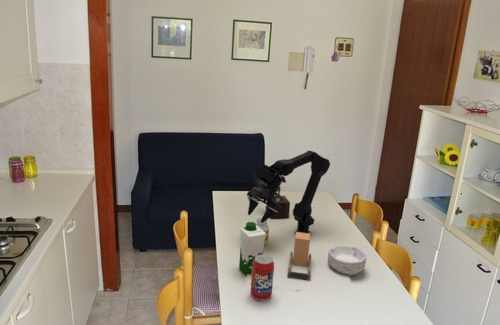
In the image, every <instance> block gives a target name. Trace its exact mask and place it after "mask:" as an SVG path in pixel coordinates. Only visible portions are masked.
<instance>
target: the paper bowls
mask: <svg viewBox="0 0 500 325" xmlns="http://www.w3.org/2000/svg"><path fill="white" fill-rule="evenodd" d="M366 255H367V254H366V253H365V252H364V251H363V250H361V249H359V247H356V246H352V245H348V244H347V245H345V244H338V245H334V246H332V247H330V248H329V250H328V255H327V263H328V265H329V266H330V267H331V268H333V270H335V271H336V272H339V273H341V274H345V275H349V277H352V276H354V275H357V274H358V273H359V272H360V273H361V272H362V271H363V270H365V267H366V264H367V263H366V261H367V256H366Z"/></svg>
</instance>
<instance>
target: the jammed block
mask: <svg viewBox="0 0 500 325" xmlns="http://www.w3.org/2000/svg"><path fill="white" fill-rule="evenodd" d="M295 232H296V231H295ZM294 235H295V236H294V245H293V247H294V248H293V257H292V265H293V266H294V265H295V266H301V267H308V257H309V254H310V253H309V252H310V242H311V233H310V234H308V233H300V232H296V234H294Z"/></svg>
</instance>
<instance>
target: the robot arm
mask: <svg viewBox="0 0 500 325" xmlns="http://www.w3.org/2000/svg"><path fill="white" fill-rule="evenodd" d="M309 163H311V164H310V170H311V174H310V176H309V179H308V182H307V185H306V188H305V190H304V192H303V195H302V198H301V200H300V201H299V202H298V203H297V202H296V203H294V208H293V209H292V215H293V219H294V220H295V221H297V225H296V226H297V227H296V231H295V232H294V235H296V232H300V233H308V234H310V235H311V232H312V231H311V230H310V226H312V225H314V222H315V218H314V217H313V216H312V212H313V211H312V203H313V200H314V197H315V194H316V192H317V190H318V188H319V184H320V182H321V178H322V177H324V176H325V175H326V174H327V172H328V170H329V168H330V167H331V163H330V159H328V158H325V157H322V156H321V155H320V154H318V153H317V152H315V151H312V150H306V152H304V153H301V154H298V155H297V156H294V157H292V158H289V159H288V158H287V159H278V160H276V161H275V162H274V163H273V164H272V165H270V166H269V165H267V164H263V165H262V166H260V167H259V168H257V169H256V171H255V177H256V179H257V180H259V181H260V182H264V183H266V185H265V186H264V185H263V186H262V188H261V187H255V186H254V187H252V188H251V190H248V192H247V193H246V196H247V199H248V201H249V202H248V203H249V204H248V209H247V215H248V216H251V214H252V213H253V212H254V211H255V209H256V208H257V207H258V206H259V204H260V202H261V203H263V204H265V212H264V213H263V215H262V217H261V218H262V219H261V223H263V222H264V221H266V220H267V221H268V220H269V219H270V217H271V216H273V215H275V214H278V213H277V212H279V213H281V211H282V207H281V206H280V205H278V204H276V203H274V201H272V200H273V198H274V196H275V195H278V191H277V190H278V189H279V187H281V185H282V183H284V184H285V183H287V181H286V177H287V176H289V175H290V174H292V173H293V172H294V170H295V169H297V168H299V167H301V166H304V165H307V164H309ZM266 205H268V207H269V208H268V207H266Z"/></svg>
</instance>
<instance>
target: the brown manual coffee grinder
mask: <svg viewBox="0 0 500 325" xmlns="http://www.w3.org/2000/svg"><path fill="white" fill-rule="evenodd" d="M266 184H267V183H264V182H263V181H260V182H259V183H258V186H259V188H262V186H263V185H264V186H265V185H266ZM277 193H278V195H275V196H274V198H273V200H272V201H274V203H276V204H278V205H280V206H281V207H282V211H281V213H279V212H277V213H278V214H275V215H273V216H271V217H270V218H269V220H284V219H285V220H286V219H287V220H288V219H289V218H290V208H291V202H290V201H289V199H288V198H287V197H286V195H281V186H280V187H279V189H278V190H277ZM266 207H268V205H266V204H265V208H266ZM268 208H269V207H268Z"/></svg>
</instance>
